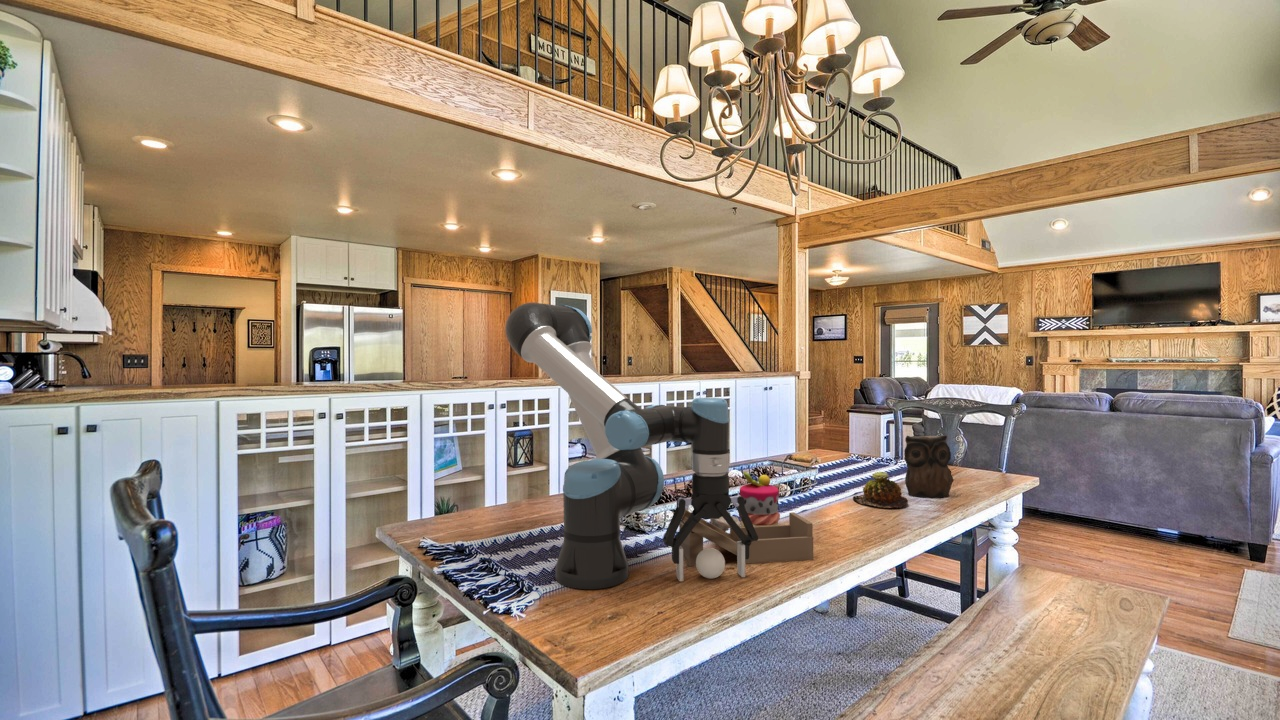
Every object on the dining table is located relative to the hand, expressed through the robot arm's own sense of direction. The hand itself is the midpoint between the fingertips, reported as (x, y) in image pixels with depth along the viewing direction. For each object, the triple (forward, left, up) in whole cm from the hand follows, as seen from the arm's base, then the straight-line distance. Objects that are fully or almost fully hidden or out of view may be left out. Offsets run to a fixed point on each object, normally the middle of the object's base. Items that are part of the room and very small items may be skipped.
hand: (710, 577), depth 123 cm
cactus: (+71, +53, -1) cm, 89 cm away
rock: (+11, +26, -1) cm, 28 cm away
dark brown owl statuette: (+91, +59, 0) cm, 109 cm away
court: (+18, +12, 0) cm, 22 cm away
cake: (+23, +32, 0) cm, 39 cm away
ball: (0, 0, 0) cm, 0 cm away
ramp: (+4, +12, 0) cm, 13 cm away
